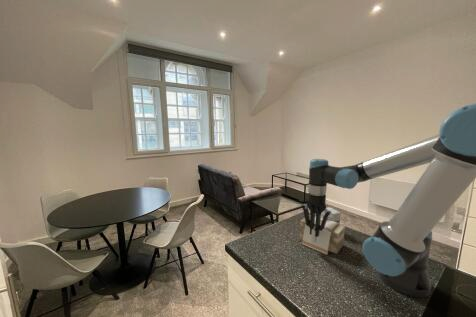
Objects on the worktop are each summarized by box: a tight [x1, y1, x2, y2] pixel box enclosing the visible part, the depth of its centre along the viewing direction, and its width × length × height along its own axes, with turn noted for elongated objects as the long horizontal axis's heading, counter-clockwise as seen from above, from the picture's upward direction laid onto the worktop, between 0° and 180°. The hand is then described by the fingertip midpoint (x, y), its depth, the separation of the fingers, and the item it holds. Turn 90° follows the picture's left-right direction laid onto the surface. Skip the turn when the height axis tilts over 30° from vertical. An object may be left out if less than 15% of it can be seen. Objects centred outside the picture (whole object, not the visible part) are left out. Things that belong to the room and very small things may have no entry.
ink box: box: [321, 206, 341, 224], centre depth 110 cm, size 8×5×12 cm, turn 17°
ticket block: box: [299, 214, 346, 255], centre depth 98 cm, size 18×10×11 cm, turn 46°
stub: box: [301, 224, 331, 255], centre depth 93 cm, size 12×10×1 cm
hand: (313, 241), depth 91 cm, fingers closed
